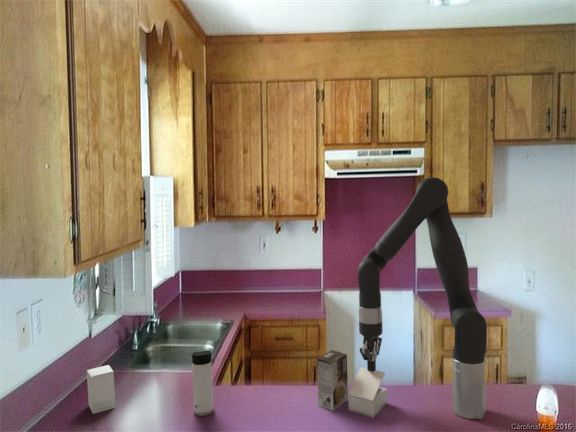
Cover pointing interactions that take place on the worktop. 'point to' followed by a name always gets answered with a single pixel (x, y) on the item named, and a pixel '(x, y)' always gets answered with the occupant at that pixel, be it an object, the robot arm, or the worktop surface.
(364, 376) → the lid
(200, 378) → the travel mug
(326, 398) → the coffee box
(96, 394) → the supplement box
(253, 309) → the worktop surface
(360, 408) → the white box
